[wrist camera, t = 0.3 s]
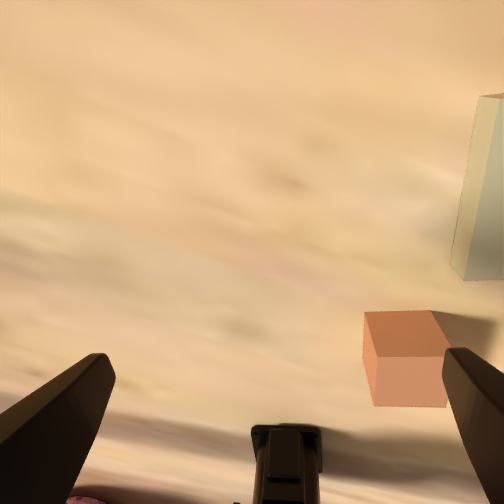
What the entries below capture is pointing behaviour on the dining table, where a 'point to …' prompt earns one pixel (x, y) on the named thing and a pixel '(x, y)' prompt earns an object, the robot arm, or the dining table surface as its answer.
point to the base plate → (483, 198)
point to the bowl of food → (83, 500)
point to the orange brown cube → (404, 359)
